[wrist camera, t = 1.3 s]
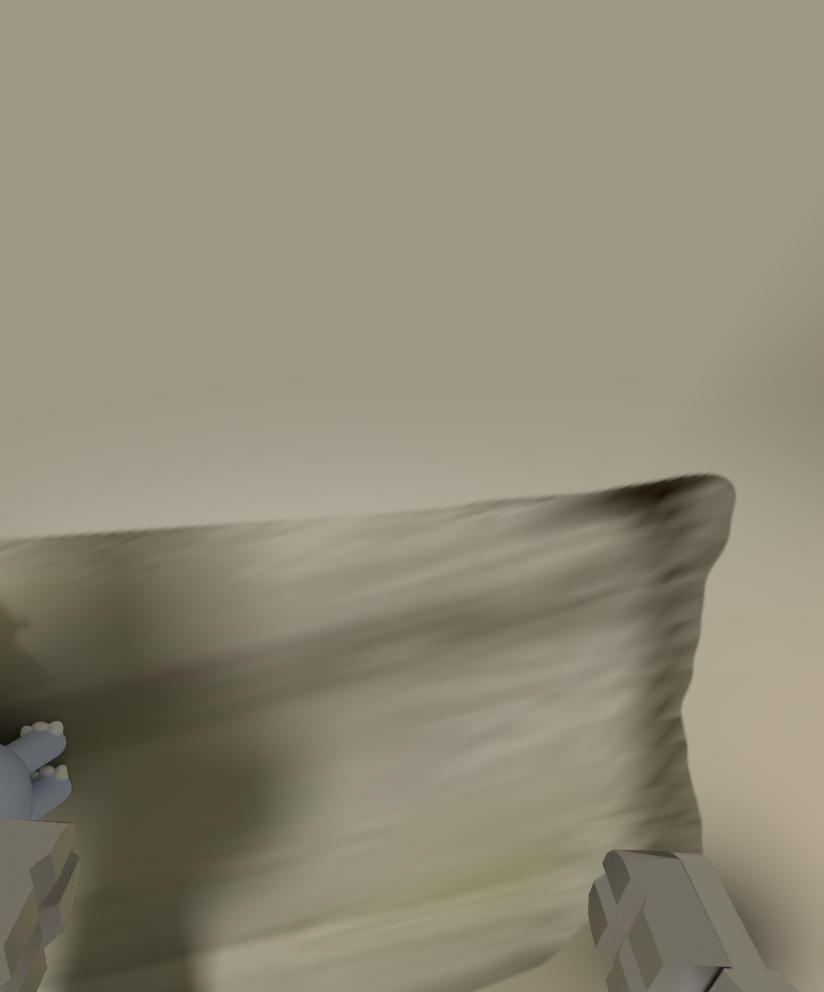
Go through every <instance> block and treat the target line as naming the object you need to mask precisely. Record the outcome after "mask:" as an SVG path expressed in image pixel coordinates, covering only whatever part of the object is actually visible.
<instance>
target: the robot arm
mask: <svg viewBox="0 0 824 992" xmlns="http://www.w3.org/2000/svg"><path fill="white" fill-rule="evenodd" d="M76 839H77V833H76V828H75V823H72V822H56V821H39V820H23V819H6V818H0V992H37V989H38V987H39V985H40V983H41V980H42V978H43V976H44V973H45V971H46V969H47V965H46V958H45V952H44V948H45V947H46V946H47V945H48V944H49V943H50V942H51V941H52V940H54V939H55V938H56V937H57V936H58V935H59V934H60V933H61V932H62V931H63V929H64V927H65V925H66V922H67V920H68V917H69V915H70V913H71V910H72V907H73V904H74V900H75V897H76V893H77V890H78V886H79V879H80V870H81V868H80V858H79V857H78V856H77V855H76V854H75V853H74V852H72V851H71V850H72V848H73V846H74V843H75V841H76ZM602 864H603V867H604V870H605V874H604V875H602V876H601V877H599V878H598V879H596V880H595V881H594V882H593V885H592V888H591V890H590V893H589V903H588V915H589V922H590V928H591V932H592V936H593V939H594V943H595V946H596V948H597V950H598V951H599V952H600V953H601V954H602V955H603V956H604V958H605V959H606V960H607V961H608V962H609V963H610V968H609V972H608V976H607V979H606V983H607V986H608V989H609V992H798V991H797V990H796V989H795V988H794V987H793V986H792V985H791V984H790V983H789V982H788V981H787V980H786V979H785V978H784V977H783V976H781V975H780V974H779V973H778V972H777V971H776V970H768V969H766V967H765V965H764V964H763V962H762V960H761V958H760V956H759V954H758V952H757V950H756V948H755V946H754V944H753V942H752V941H751V939H750V937H749V935H748V933H747V931H746V929H745V927H744V925H743V924H742V921H741V920H740V918H739V916H738V914H737V912H736V910H735V908H734V906H733V904H732V902H731V901H730V899H729V897H728V895H727V893H726V891H725V889H724V887H723V885H722V883H721V881H720V879H719V878H718V875H717V874H716V872H715V870H714V868H713V866H712V864H711V862H710V861H709V860H708V859H707V858H706V857H705V856H704V855H701V854H697V853H673V852H669V851H642V850H612V851H610V852H608V853H607V854H606V856H605V858H604V861H603V863H602Z"/></svg>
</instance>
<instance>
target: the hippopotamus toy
mask: <svg viewBox="0 0 824 992" xmlns="http://www.w3.org/2000/svg"><path fill="white" fill-rule="evenodd" d="M65 747H66V738H65V736H64V734H63V724H62V723H61V722H60V721H53V722H51V723H50V724H48V723H45V722H36V723H34V724H33V726H24V727H23V728H22V729H21V732H20V738H19V739H17V740H15V741H13V742H12V743H10V744H8V745H6V746H3V745H1V744H0V818H6V819H23V820H39V819H40V818H42V817H43V816H44V815H46V814H47V813H49V812H50V811H51V810H53V809H54V808H55V807H57V806H58V805H59V804H61V803H62V802H63V801H65V800H66V799H67V798H68V797H69V795H70V793H71V790H72V786H71V781H70V780H69V778H68V771H67V766H66V765H63V764H62V765H59V766H57V768H56V769H55V768H54V767H52V766H49V765H45V764H47V763H48V762H50V761H51V760H53V759H54V758H56V757H57V756H59V755H60V754H61V753H62V752H63V750H64V749H65ZM43 765H45V766H43ZM37 769H39V771H36V770H37Z"/></svg>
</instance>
